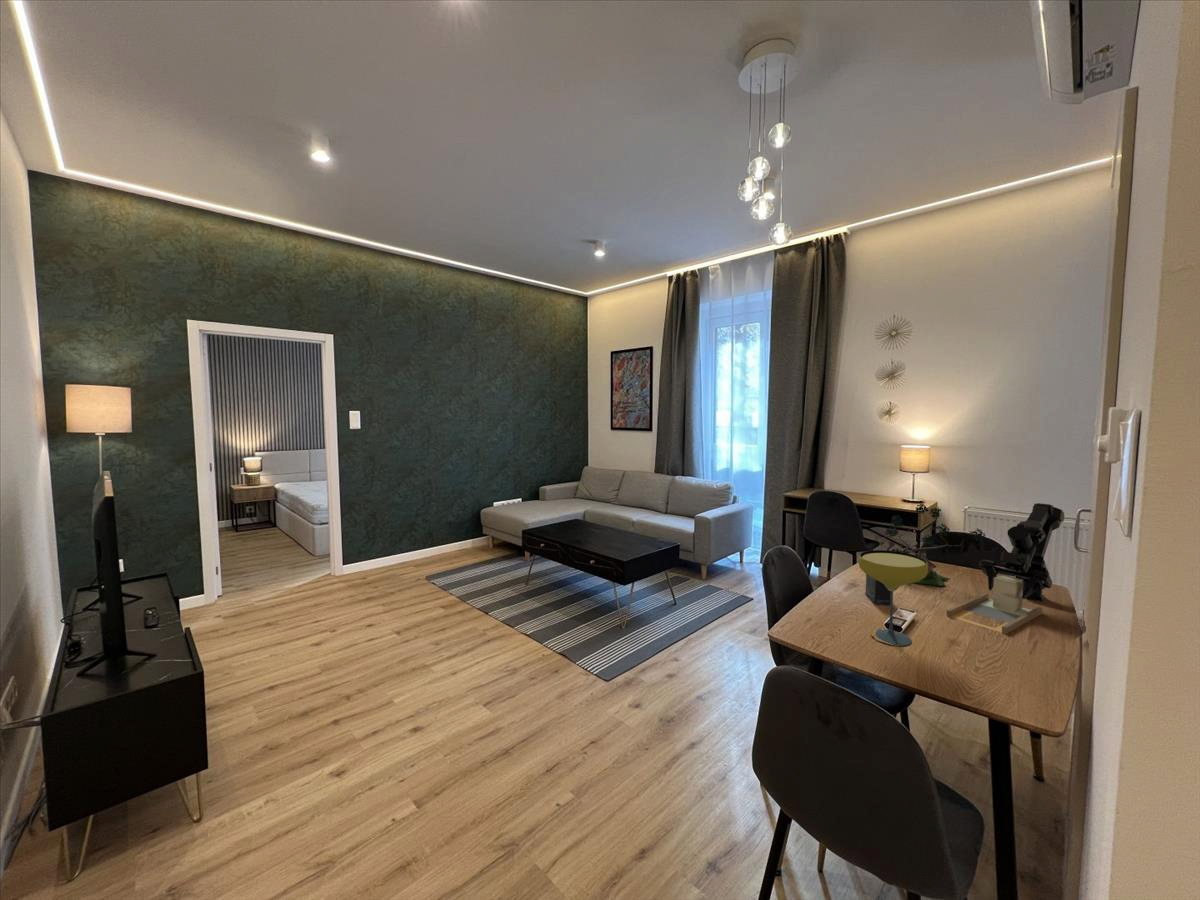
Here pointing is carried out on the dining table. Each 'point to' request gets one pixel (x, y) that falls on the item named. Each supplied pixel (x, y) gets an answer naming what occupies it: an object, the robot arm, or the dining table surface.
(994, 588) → the maple block
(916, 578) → the cocktail glass
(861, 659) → the dining table surface
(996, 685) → the dining table surface
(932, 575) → the bonsai tree
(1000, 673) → the dining table surface
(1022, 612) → the trough deck
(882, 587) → the small box
